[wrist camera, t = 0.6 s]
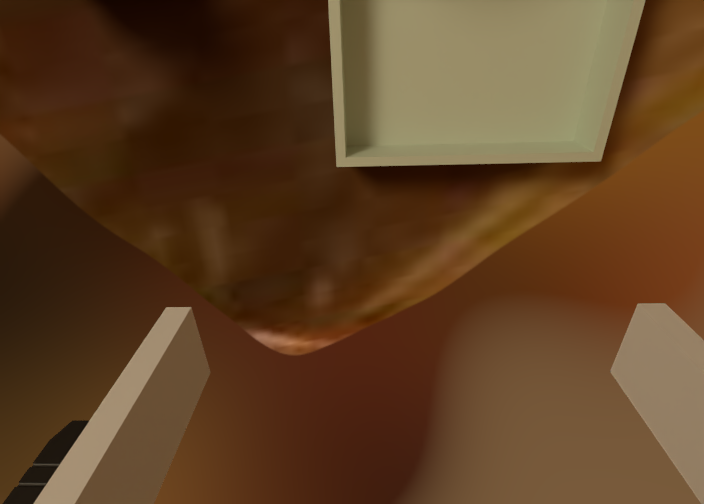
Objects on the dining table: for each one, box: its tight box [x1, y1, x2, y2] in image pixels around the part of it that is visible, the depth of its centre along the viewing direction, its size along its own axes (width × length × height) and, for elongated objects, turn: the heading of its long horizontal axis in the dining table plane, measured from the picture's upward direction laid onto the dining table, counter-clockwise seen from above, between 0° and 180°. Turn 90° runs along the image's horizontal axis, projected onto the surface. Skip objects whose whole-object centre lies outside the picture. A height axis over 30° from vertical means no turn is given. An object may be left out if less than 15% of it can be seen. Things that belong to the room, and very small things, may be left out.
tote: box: [328, 0, 645, 167], centre depth 28 cm, size 14×19×4 cm
